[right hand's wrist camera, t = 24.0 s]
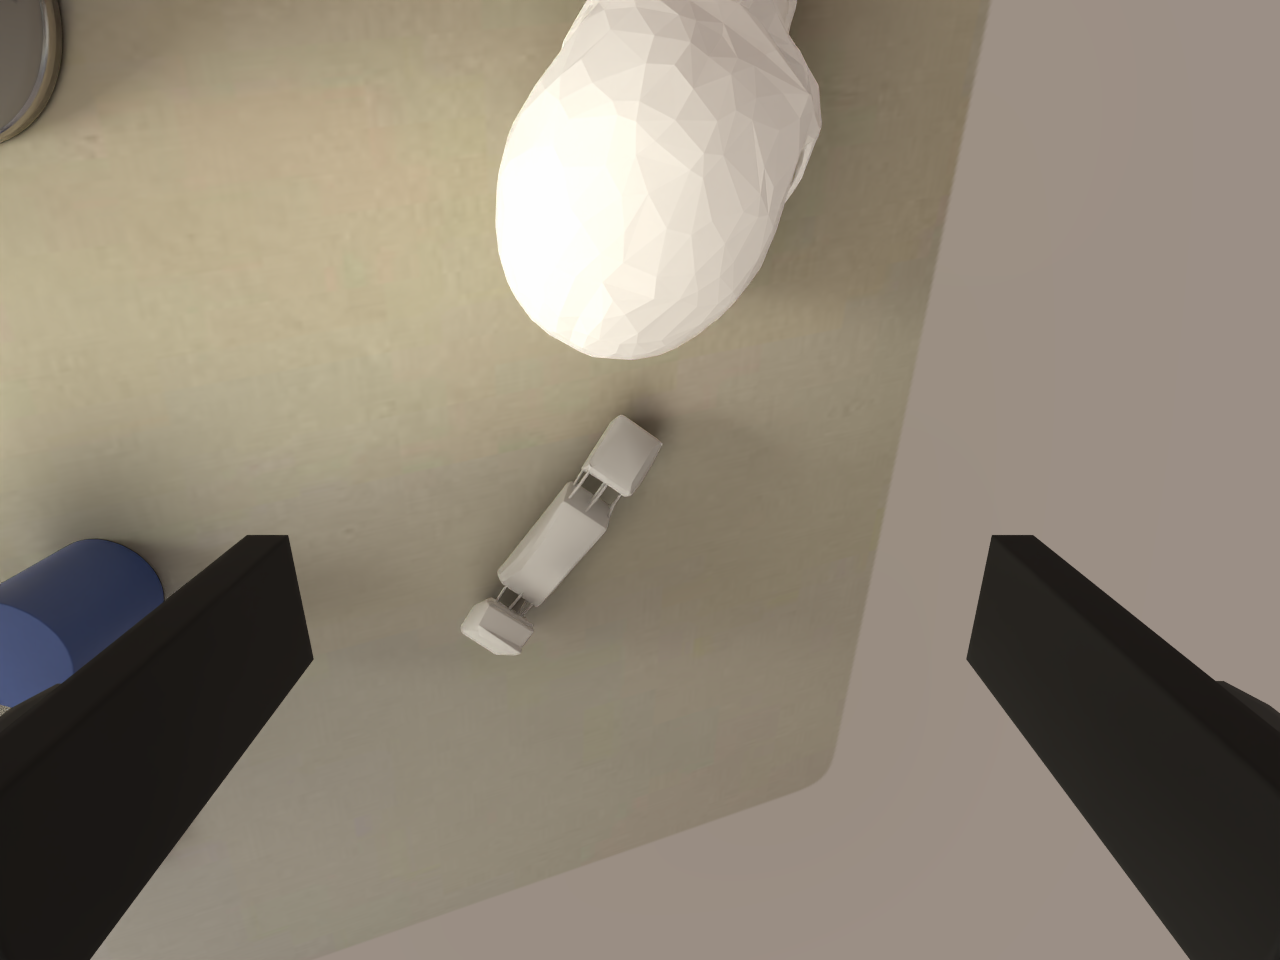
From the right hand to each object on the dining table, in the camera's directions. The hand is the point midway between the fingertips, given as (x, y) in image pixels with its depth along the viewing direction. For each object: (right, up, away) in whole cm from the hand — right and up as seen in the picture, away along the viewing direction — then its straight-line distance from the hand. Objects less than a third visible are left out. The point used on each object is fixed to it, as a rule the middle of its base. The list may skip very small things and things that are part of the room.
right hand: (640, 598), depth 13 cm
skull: (+2, +21, +27) cm, 34 cm away
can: (-39, -6, +37) cm, 55 cm away
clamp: (-6, -1, +36) cm, 36 cm away
